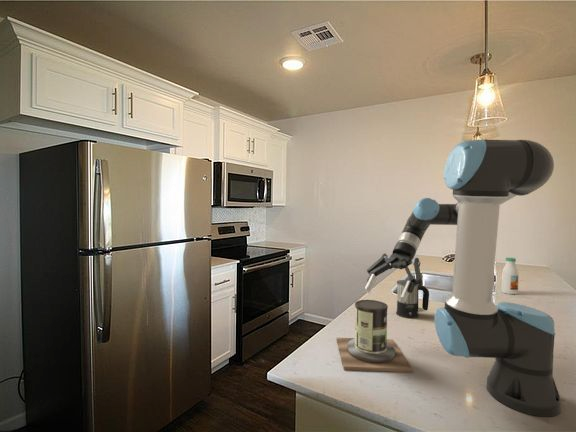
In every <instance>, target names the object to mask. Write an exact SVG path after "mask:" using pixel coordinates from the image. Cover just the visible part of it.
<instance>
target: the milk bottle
mask: <svg viewBox="0 0 576 432" xmlns="http://www.w3.org/2000/svg"><path fill="white" fill-rule="evenodd" d="M516 260H517V259H516V258H515V257H506V258H505V265H504V267H503V269H502V271H501V287H500V289H501V293H503V294H506V293H507V294H506V295H512V294H516V295H518V294H519V270H518V268H517V266H516V262H517V261H516Z"/></svg>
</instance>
